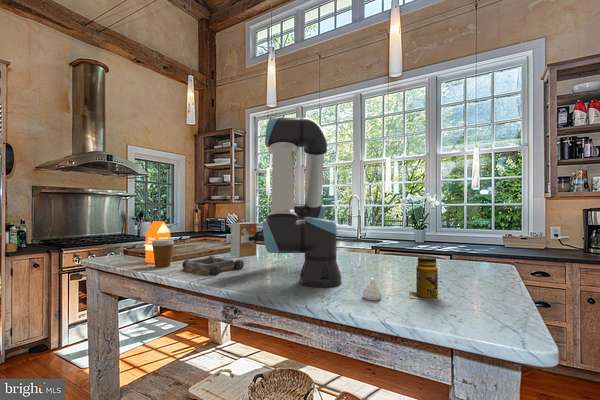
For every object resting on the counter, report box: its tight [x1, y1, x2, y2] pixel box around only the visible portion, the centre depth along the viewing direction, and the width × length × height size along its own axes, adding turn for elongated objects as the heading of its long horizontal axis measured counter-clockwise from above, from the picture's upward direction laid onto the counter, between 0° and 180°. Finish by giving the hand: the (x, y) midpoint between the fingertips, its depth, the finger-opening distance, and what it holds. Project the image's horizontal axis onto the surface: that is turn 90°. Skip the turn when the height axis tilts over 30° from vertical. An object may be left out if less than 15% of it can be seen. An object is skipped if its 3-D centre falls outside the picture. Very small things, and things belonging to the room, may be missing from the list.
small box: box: [230, 222, 258, 258], centre depth 122 cm, size 8×6×13 cm
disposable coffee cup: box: [151, 238, 175, 269], centre depth 140 cm, size 10×10×12 cm
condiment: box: [408, 256, 441, 302], centre depth 94 cm, size 7×8×12 cm
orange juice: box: [144, 220, 171, 264], centre depth 153 cm, size 8×9×20 cm
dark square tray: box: [181, 255, 245, 277], centre depth 134 cm, size 20×19×4 cm
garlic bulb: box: [362, 277, 382, 301], centre depth 93 cm, size 6×6×5 cm
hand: (234, 238), depth 118 cm, fingers closed on small box, 7 cm apart
